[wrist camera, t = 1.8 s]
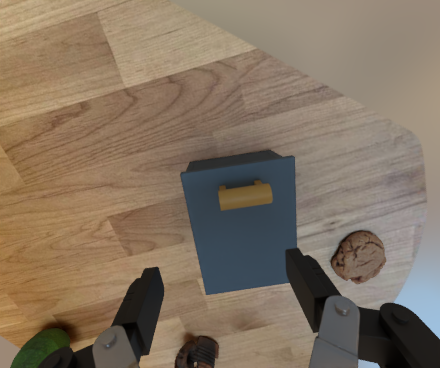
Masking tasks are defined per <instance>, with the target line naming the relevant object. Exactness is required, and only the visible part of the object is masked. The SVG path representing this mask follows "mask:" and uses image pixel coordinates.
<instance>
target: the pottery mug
mask: <svg viewBox="0 0 440 368" xmlns="http://www.w3.org/2000/svg"><path fill="white" fill-rule="evenodd" d="M218 348H219V346H218V345H217V344H216V343H215V342H213V341H212V340H210V339H207V338H205V337H202V336H199V340H198V343H197V346H196V344H195V342H194V341H193V340H190V341H188V342H187V343H186V344H185V345H184V346H183V347H182V348H181V349H180V351H179V354H178V356H177V357H176V359H175V368H195V367H194V362H196V361H197V368H214V365H215V364H214V363H215V358H218Z"/></svg>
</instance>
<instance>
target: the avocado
mask: <svg viewBox="0 0 440 368" xmlns="http://www.w3.org/2000/svg"><path fill="white" fill-rule="evenodd" d="M62 347H70V338H69V336H68V334H67V333H66V332H65V331H64V330H61V329H58V328H52V329H46V330H43V331H41V332H39V333H37V334H36V335H35V336H34V337H32V338H31V339H30V340H29V341H28V342H26V344H25V345H24V346H23V347H22V348H21V350H20V351H19V352H18V354H17V355H16V357H15V358H14V360H13V362H12V365H11V367H10V368H37V367H38V366H39V364H40V363H41V362H42V361H43V360H44V359H45V358H46V357H47V356H48V355H49V354H51V353H52V352H54V351H55V350H57V349H59V348H62Z"/></svg>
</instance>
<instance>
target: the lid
mask: <svg viewBox="0 0 440 368" xmlns="http://www.w3.org/2000/svg"><path fill="white" fill-rule="evenodd" d="M180 176H181V180H182V185H183V189H184V194H185V199H186V203H187V208H188V213H189V217H190V222H191V227H192V231H193V236H194V241H195V245H196V250H197V255H198V259H199V264H200V269H201V273H202V278H203V283H204V287H205V292H206V295H210V294H217V293H224V292H230V291H237V290H244V289H251V288H257V287H264V286H271V285H277V284H284V283H290V282H289V280H288V277H287V274H286V261H285V250H286V249H292V248H297V231H296V190H295V157H294V156H285V157H279V158H272V159H265V160H259V161H252V162H245V163H239V164H232V165H226V166H219V167H212V168H206V169H199V170H192V171H186V172H181V174H180Z"/></svg>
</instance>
